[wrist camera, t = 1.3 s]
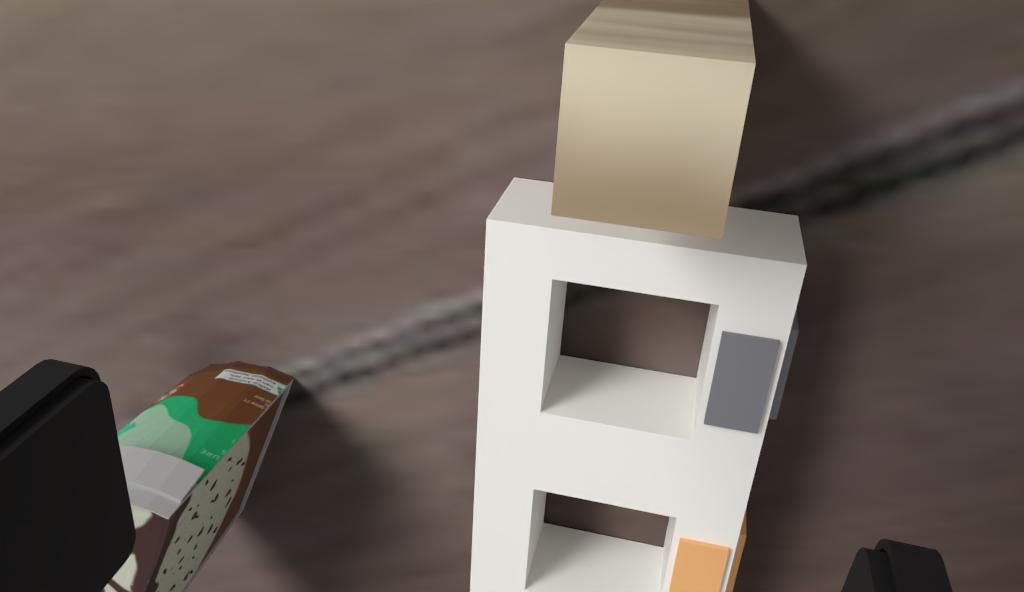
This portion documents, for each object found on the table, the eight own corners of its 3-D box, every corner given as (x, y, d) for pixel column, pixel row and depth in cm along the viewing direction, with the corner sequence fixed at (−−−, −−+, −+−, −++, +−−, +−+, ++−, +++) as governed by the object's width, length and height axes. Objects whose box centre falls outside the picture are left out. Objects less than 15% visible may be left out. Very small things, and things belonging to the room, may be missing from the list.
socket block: (514, 177, 30) (484, 221, 27) (809, 217, 29) (821, 270, 25) (492, 541, 39) (468, 611, 35) (718, 589, 37) (717, 669, 34)
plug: (619, -19, 27) (565, 43, 18) (747, -7, 26) (756, 63, 17) (605, 105, 29) (551, 215, 20) (724, 119, 28) (721, 239, 19)
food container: (178, 287, 36) (6, 422, 28) (303, 353, 36) (171, 508, 28) (129, 472, 43) (-24, 629, 34) (236, 528, 43) (111, 698, 34)
